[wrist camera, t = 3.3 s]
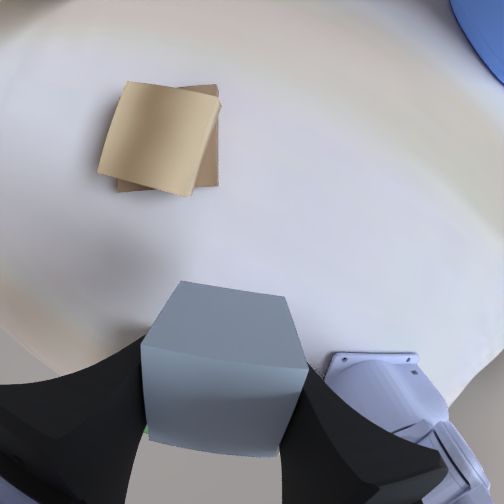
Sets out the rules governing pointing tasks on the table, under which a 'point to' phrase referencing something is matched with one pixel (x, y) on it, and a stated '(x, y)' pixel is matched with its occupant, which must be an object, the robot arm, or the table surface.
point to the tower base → (210, 160)
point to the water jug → (484, 30)
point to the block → (222, 371)
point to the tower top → (159, 137)
